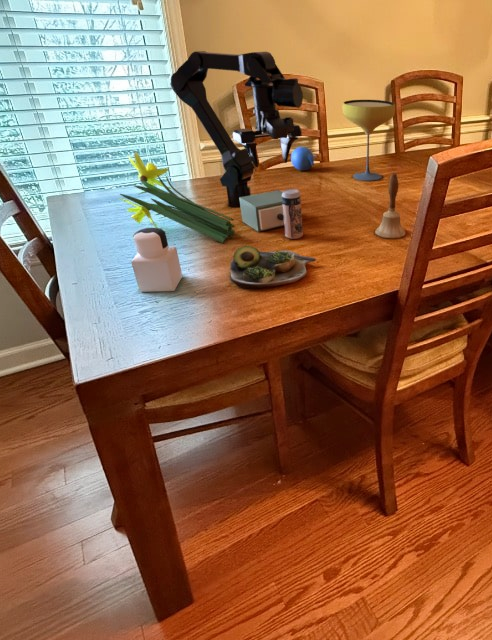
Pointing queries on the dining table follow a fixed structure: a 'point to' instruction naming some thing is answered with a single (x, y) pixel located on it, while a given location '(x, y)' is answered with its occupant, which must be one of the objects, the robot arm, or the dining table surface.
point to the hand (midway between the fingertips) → (271, 164)
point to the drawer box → (258, 207)
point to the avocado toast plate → (266, 267)
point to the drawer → (271, 216)
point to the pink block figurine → (155, 261)
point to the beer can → (292, 213)
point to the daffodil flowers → (176, 205)
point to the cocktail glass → (368, 123)
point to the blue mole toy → (302, 158)
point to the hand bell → (391, 214)
